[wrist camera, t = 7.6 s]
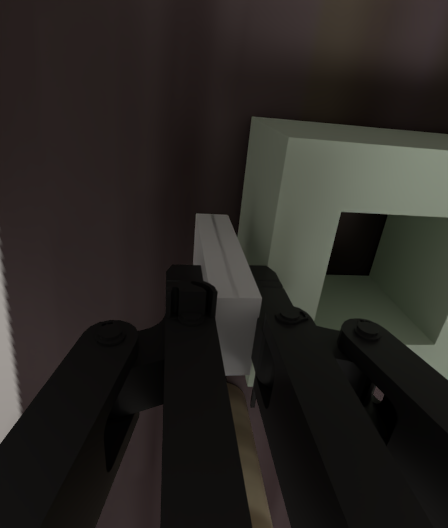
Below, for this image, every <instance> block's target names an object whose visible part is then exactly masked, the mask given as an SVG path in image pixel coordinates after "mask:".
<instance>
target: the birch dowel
mask: <svg viewBox="0 0 448 528" xmlns="http://www.w3.org/2000/svg"><path fill="white" fill-rule="evenodd" d="M227 387H228V393H229V398H230V404H231V410H232V415H233V421H234V426H235V432H236V438H237V443H238V449H239V455H240V460H241V466H242V471H243V477H244V483H245V488H246V494H247V500H248V505H249V511H250V516H251V522H252V528H273V526H272V521H271V517H270V512H269V507H268V503H267V498H266V493H265V489H264V484H263V479H262V475H261V470H260V465H259V460H258V456H257V451H256V446H255V442H254V437H253V432H252V428H251V423H250V418H249V414H248V409H247V404H246V400H245V396H244V394H243V392H242V391H241V390H240V389H239V388H238V387H237V386H235V385H233V384H230V383H227Z"/></svg>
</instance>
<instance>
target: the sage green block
mask: <svg viewBox="0 0 448 528" xmlns="http://www.w3.org/2000/svg"><path fill="white" fill-rule="evenodd" d="M341 212H354V213H372V214H388V216H387V219H386V222H385V226H384V229H383V232H382V235H381V238H380V242H379V245H378V248H377V251H376V255H375V258H374V261H373V264H372V268H371V271H370V274H369V276H358V275H326V271H327V267H328V263H329V259H330V255H331V251H332V247H333V243H334V239H335V235H336V231H337V227H338V223H339V219H340V215H341ZM237 238H238V241H239V243H240V245H241V248H242V250H243V253H244V255H245V258H246V260H247V263H248V265H264V266H267V267H269V268H270V269H272V270H273V271H274V272H276V274H277V276H278V278H279V280H280V282H281V284H282V286H283V288H284V289H285V291H286V293H287V295H288V297H289V299H290V301H291V302H292V304H293V306H295V307H298V308H300V309H302V310H304V311H305V312H307V313H308V314H309V315H310V316H311V317H312V319H313V321H314V323H315V324H316V326H320V327H324V328H329V329H334V330H339V331H340V329H341V326H342V324H343V323H344V321H346V320H348V319H354V318H360V319H367V320H370V321H372V322H375V323H377V324H379V325H380V326H382V327H384V328H385V329H386V330H388V331H389V332H390V333H391V334H392V335H394V336H395V337H396V338H397V339H399V340H400V341H401V342H402V343H403V344H405V345H406V346H407V347H408V348H410V349H411V350H412V351H413V352H414V353H416V354H417V355H418V356H419V357H420V358H422V359H423V360H424V361H425V362H427V363H428V364H429V365H430V366H431V367H433V368H434V369H435V370H436V371H438V372H439V373H440V374H441V375H442V376H444V377H445V378H446V379H447V380H448V134H441V133H430V132H419V131H408V130H397V129H386V128H375V127H364V126H353V125H342V124H331V123H320V122H309V121H297V120H286V119H275V118H264V117H253V116H252V119H251V127H250V135H249V144H248V152H247V161H246V169H245V178H244V186H243V194H242V203H241V211H240V220H239V228H238V236H237ZM245 378H246V382H247V386H248V387H253V384H254V378H255V370H254V366H253V363H252V364H251V371H250V375H245Z"/></svg>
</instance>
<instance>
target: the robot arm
mask: <svg viewBox="0 0 448 528" xmlns="http://www.w3.org/2000/svg"><path fill="white" fill-rule="evenodd" d="M252 363H253V366H254V370H255V378H254V384H253V390H252V396H251V408H252V407H254V406H255V401H256V399H257V402H258V406H259V409H260V413H261V417H262V420H263V424H264V428H265V432H266V435H267V439H268V443H269V447H270V450H271V454H272V458H273V461H274V465H275V469H276V473H277V476H278V480H279V484H280V487H281V491H282V495H283V499H284V502H285V506H286V510H287V514H288V517H289V521H290V525H291V528H448V380H447V379H446V378H445V377H444V376H442V375H441V374H440V373H439V372H438V371H436V370H435V369H434V368H433V367H431V366H430V365H429V364H428V363H427V362H425V361H424V360H423V359H422V358H420V357H419V356H418V355H417V354H416V353H414V352H413V351H412V350H411V349H410V348H408V347H407V346H406V345H405V344H403V343H402V342H401V341H400V340H399V339H397V338H396V337H395V336H394V335H392V334H391V333H390V332H389V331H388V330H386V329H385V328H384V327H382V326H380V325H379V324H377V323H375V322H372V321H370V320H367V319H360V318H354V319H348V320H346V321H344V323H343V324H342V326H341V329H340V331H339V330H334V329H329V328H324V327H320V326H316V324H315V323H314V321H313V319H312V317H311V316H310V315H309V314H308V313H307V312H305V311H304V310H302V309H300V308H298V307H295V306H293V304H292V302H291V301H290V299H289V297H288V295H287V293H286V291H285V289H284V288H283V286H282V284H281V282H280V280H279V278H278V276H277V274H276V272H274V271H273V270H272V269H270V268H269V267H267V266H264V265H248V263H247V260H246V258H245V255H244V253H243V250H242V248H241V245H240V243H239V241H238V238H237V236H236V233H235V231H234V228H233V226H232V223H231V221H230V219H229V216H228V215H222V214H199V213H196V220H195V238H194V255H193V265H172V266H171V267H170V268H169V269H168V270H167V272H166V313H165V317H164V318H163V320H162V321H161V322H160V323H159V324H157V325H155V326H153V327H151V328H148V329H145V330H141V331H137V330H136V328H135V327H134V326H133V325H131V324H130V323H127V322H124V321H120V320H109V321H104V322H99V323H97V324H95V325H93V326H90V327H89V328H88V329H87V330H86V331H85V332H84V333H83V334H82V336H81V337H80V338H79V340H78V341H77V342H76V344H75V345H74V346H73V348H72V349H71V350H70V352H69V353H68V354H67V356H66V357H65V358H64V360H63V361H62V362H61V364H60V365H59V366H58V368H57V369H56V370H55V372H54V373H53V374H52V376H51V377H50V378H49V380H48V381H47V382H46V384H45V385H44V386H43V388H42V389H41V390H40V392H39V393H38V394H37V396H36V397H35V398H34V400H33V401H32V402H31V404H30V405H29V406H28V408H27V409H26V410H25V412H24V413H23V414H22V416H21V417H20V418H19V420H18V421H17V423H16V424H15V425H14V426H13V428H12V429H11V430H10V432H9V433H8V434H7V436H6V437H5V439H4V440H3V441H2V442H1V444H0V528H95V527H96V524H97V521H98V519H99V516H100V514H101V511H102V509H103V506H104V504H105V501H106V499H107V496H108V494H109V491H110V489H111V486H112V483H113V481H114V478H115V476H116V473H117V471H118V468H119V466H120V463H121V461H122V458H123V456H124V453H125V451H126V448H127V445H128V443H129V440H130V438H131V435H132V433H133V430H134V428H135V425H136V423H137V420H138V418H139V412H140V411H143V410H146V409H149V408H152V407H155V406H159V405H162V404H163V443H162V484H161V524H160V528H252V522H251V516H250V511H249V505H248V500H247V494H246V488H245V483H244V477H243V471H242V466H241V460H240V455H239V449H238V443H237V438H236V432H235V426H234V421H233V415H232V410H231V404H230V398H229V393H228V387H227V381H226V376H236V375H250V371H251V364H252ZM376 386H377V387H378V388H379V389H380V390H381V391H382V392H383V393H384V394H385V395H384V397H383V400H382V401H379V400H378V399H377V398H376V397H375V396H374V395H373V393H374V390H375V388H376Z"/></svg>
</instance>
